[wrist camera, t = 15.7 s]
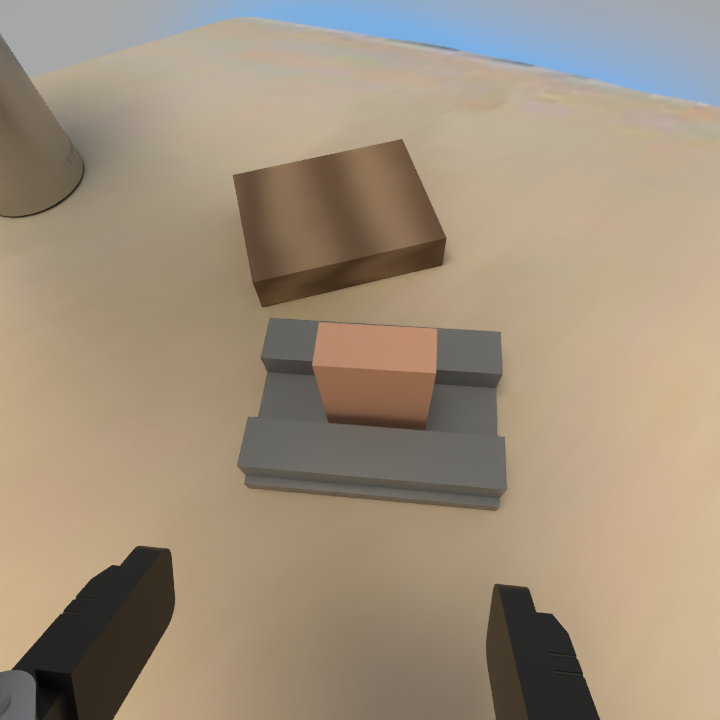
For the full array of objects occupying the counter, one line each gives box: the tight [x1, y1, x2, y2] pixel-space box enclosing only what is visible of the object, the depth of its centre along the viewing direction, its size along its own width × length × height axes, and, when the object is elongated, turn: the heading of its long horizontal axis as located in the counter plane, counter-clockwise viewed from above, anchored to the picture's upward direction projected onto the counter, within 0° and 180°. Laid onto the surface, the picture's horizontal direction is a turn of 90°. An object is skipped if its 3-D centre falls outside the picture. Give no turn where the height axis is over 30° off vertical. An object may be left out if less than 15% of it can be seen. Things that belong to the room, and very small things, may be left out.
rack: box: [237, 318, 507, 510], centre depth 31 cm, size 15×11×3 cm
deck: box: [233, 139, 446, 307], centre depth 39 cm, size 14×11×3 cm
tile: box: [312, 322, 437, 431], centre depth 28 cm, size 6×2×8 cm, turn 85°
